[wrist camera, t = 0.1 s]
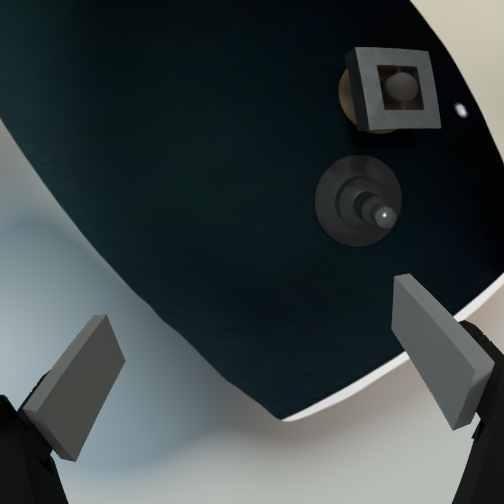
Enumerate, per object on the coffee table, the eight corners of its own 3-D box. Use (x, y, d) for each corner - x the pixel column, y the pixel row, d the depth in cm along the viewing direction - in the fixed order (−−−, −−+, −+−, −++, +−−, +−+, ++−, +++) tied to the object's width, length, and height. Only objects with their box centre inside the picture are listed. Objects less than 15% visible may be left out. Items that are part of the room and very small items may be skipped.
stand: (332, 60, 33) (352, 40, 25) (402, 61, 33) (434, 46, 24) (344, 136, 37) (368, 134, 28) (413, 132, 36) (449, 132, 28)
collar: (344, 56, 30) (355, 47, 26) (412, 58, 29) (428, 51, 25) (357, 130, 33) (369, 129, 29) (424, 128, 32) (441, 128, 28)
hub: (308, 159, 38) (324, 164, 29) (396, 151, 37) (432, 156, 28) (318, 251, 42) (335, 280, 33) (400, 238, 41) (433, 263, 32)
